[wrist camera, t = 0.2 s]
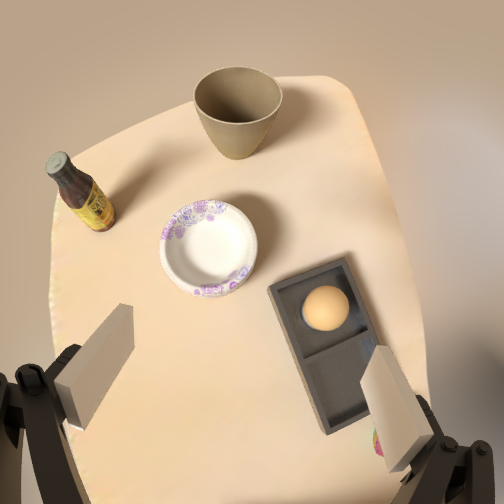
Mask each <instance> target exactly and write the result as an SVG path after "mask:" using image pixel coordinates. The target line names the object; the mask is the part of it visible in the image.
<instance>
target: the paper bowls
mask: <svg viewBox="0 0 504 504" xmlns="http://www.w3.org/2000/svg"><path fill="white" fill-rule="evenodd" d="M159 251H160V258H161V262H162V265H163V267H164V269H165V271H166V273H167V274H168V276H169V277H170V278H171V279H172V280H173V281H174V282H175V283H176V284H177V285H178V286H179V287H180V288H181V289H182V290H184V291H185V292H187V293H189V294H191V295H194V296H197V297H201V298H217V297H222V296H225V295H228V294H230V293H232V292H234V291H235V290H237V289H238V288H239V287H241V285H242V284H244V283H245V281H246V280H247V279H248V278H249V276H250V274H251V273H252V271H253V268H254V265H255V262H256V258H257V253H258V240H257V235H256V232H255V229H254V227H253V225H252V223H251V222H250V220H249V219H248V217H247V216H246V215H245V214H244V213H243V212H242V211H240V210H239V209H238V208H236V207H235V206H233V205H231V204H228V203H226V202H222V201H217V200H202V201H197V202H194V203H191V204H189V205H187V206H185V207H183V208H182V209H180V210H179V211H178V212H176V213H175V214H174V215H173V216H172V217H171V219H170V220H169V221H168V223H167V224H166V226H165V228H164V230H163V233H162V235H161V239H160V247H159Z"/></svg>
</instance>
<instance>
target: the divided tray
mask: <svg viewBox="0 0 504 504" xmlns="http://www.w3.org/2000/svg"><path fill="white" fill-rule="evenodd" d="M320 286H334V287H336V288H338V289H340V290H341V291H342V292H343V293H344V294H345V296H346V297H347V300H348V303H349V312H348V316H347V318H346V320H345V321H344V323H343V324H342V325H341V326H339V327H338V328H336V329H334V330H331V331H321V330H316V329H312V328H311V327H309V326H308V325H307V324H306V323H305V322H304V320H303V318H302V314H301V308H302V304H303V302H304V301H305V299H306V298H307V296H308V295H309V294H310V292H311V291H313V290H314V289H316V288H318V287H320ZM267 292H268V295H269V297H270V300H271V302H272V305H273V307H274V310H275V313H276V315H277V318H278V320H279V323H280V325H281V328H282V331H283V333H284V336H285V338H286V341H287V343H288V346H289V349H290V351H291V354H292V356H293V359H294V361H295V364H296V367H297V369H298V372H299V374H300V377H301V379H302V382H303V385H304V387H305V390H306V392H307V395H308V397H309V400H310V403H311V405H312V408H313V410H314V413H315V415H316V418H317V421H318V423H319V426H320V428H321V431H322V432H324V433H325V434H326V435H330V434H332V433H334V432H336V431H338V430H340V429H342V428H344V427H346V426H348V425H350V424H352V423H354V422H356V421H358V420H360V419H362V418H364V417H366V416H367V415H369V414H370V411H369V408H368V405H367V402H366V399H365V396H364V393H363V390H362V387H361V384H360V381H361V379H362V377H363V375H364V373H365V370H366V368H367V366H368V364H369V362H370V359H371V357H372V355H373V352H374V350H375V348H376V345H380V344H379V342H378V339H377V336H376V334H375V331H374V328H373V326H372V323H371V321H370V318H369V315H368V313H367V310H366V308H365V305H364V303H363V300H362V298H361V295H360V293H359V291H358V288H357V286H356V283H355V281H354V279H353V276H352V274H351V272H350V269H349V267H348V265H347V262H346V260H345V258H342V259H339V260H337V261H334V262H332V263H329V264H326V265H324V266H321V267H319V268H316V269H313V270H311V271H308V272H306V273H303V274H300V275H298V276H295V277H292V278H290V279H287V280H284V281H282V282H279V283H276V284H273V285H271V286H269V287H268V289H267Z"/></svg>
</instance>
